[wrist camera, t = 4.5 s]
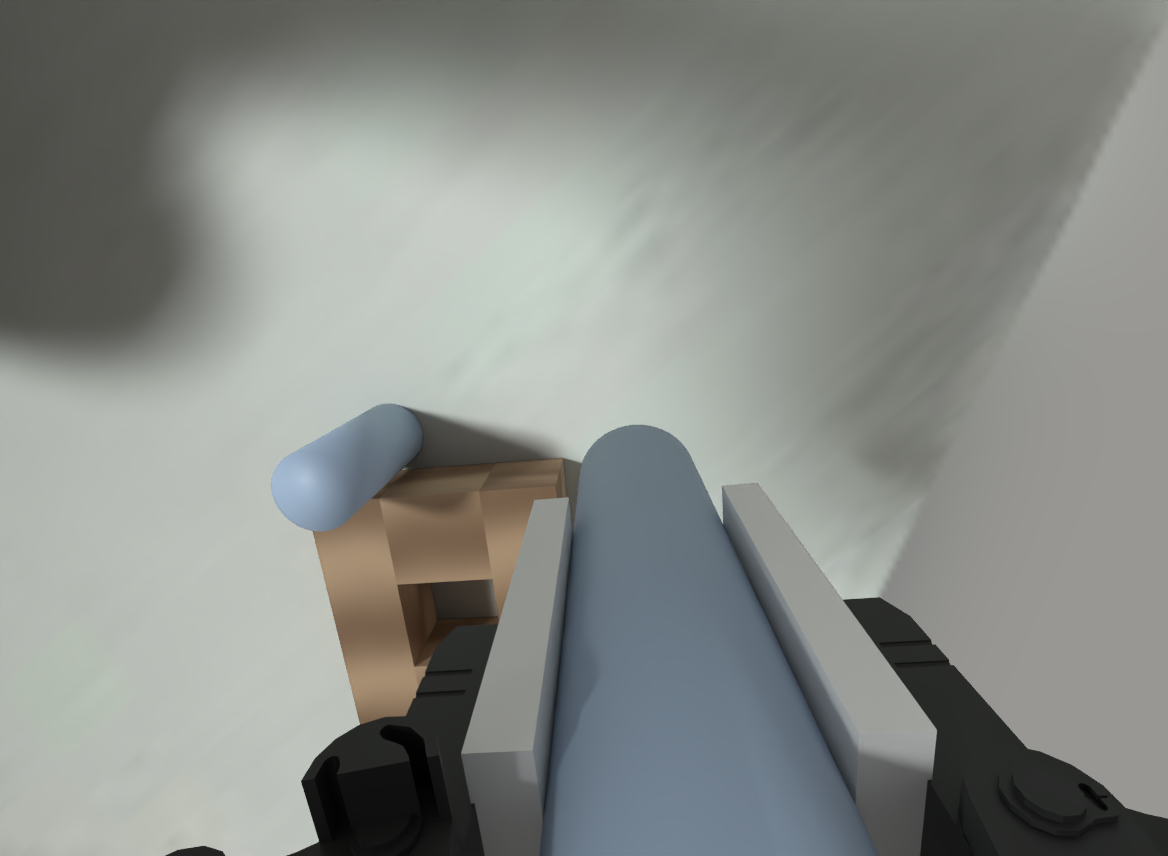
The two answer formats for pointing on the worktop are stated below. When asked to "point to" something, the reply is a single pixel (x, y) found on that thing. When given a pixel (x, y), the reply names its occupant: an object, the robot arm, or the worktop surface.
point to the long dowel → (678, 684)
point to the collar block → (423, 566)
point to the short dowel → (345, 467)
